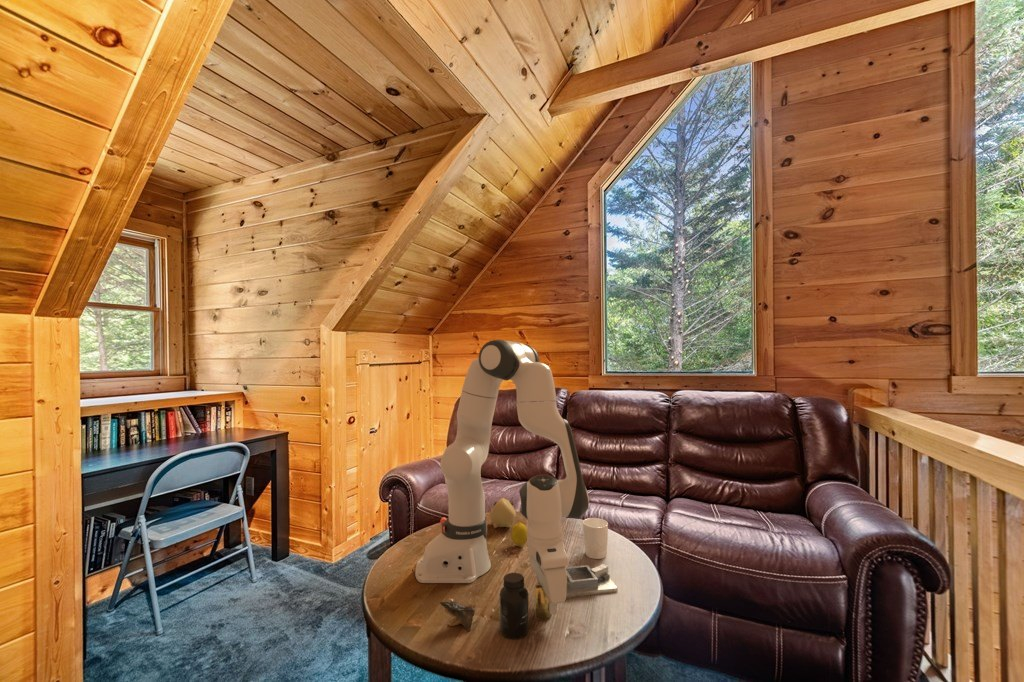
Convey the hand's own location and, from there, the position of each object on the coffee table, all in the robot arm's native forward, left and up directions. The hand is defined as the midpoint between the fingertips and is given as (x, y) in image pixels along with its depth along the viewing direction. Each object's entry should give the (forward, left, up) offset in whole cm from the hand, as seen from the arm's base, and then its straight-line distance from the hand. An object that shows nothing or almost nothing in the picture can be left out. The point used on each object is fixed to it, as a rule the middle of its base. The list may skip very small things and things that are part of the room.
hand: (546, 601), depth 102 cm
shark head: (-22, 0, -4) cm, 22 cm away
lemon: (0, +37, -3) cm, 37 cm away
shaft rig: (+12, +10, -3) cm, 16 cm away
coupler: (-1, 0, -3) cm, 3 cm away
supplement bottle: (-9, -4, -4) cm, 10 cm away
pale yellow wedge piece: (-3, +54, -4) cm, 54 cm away
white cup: (+23, +27, -4) cm, 36 cm away
